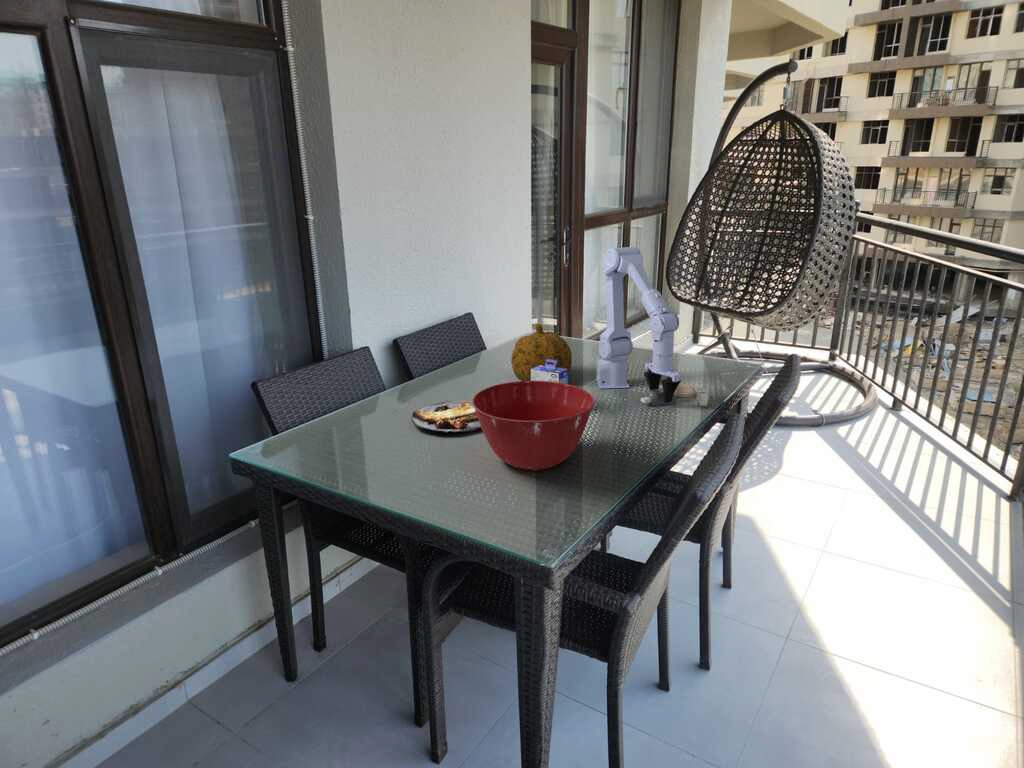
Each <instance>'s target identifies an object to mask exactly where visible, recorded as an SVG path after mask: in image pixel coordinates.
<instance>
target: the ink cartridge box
mask: <svg viewBox="0 0 1024 768" xmlns="http://www.w3.org/2000/svg"><path fill="white" fill-rule="evenodd" d="M548 362H553V363H554V365H550V364H547V363H548ZM556 364H557V360H551V359H547V360H546V363H545V366H542V365H540V366H537V367H534V368H532V369H531V381H551V382H559V383H564V384H569V380H568V379H569V372H568V369H563V368H556Z"/></svg>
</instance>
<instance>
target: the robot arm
mask: <svg viewBox="0 0 1024 768" xmlns="http://www.w3.org/2000/svg"><path fill="white" fill-rule="evenodd" d="M643 263H644V256H643V254H642V252H641V250H640V248H639V247H638V246H636V245H632V246H625V247H617V248H616V247H615V248H614V247H610V248H609V249H608V250H607V251H606V252H605V254H604V255H603V268H604V269H603V271H604V282H605V283H604V286H605V308H606V311H605V313H606V329H605V330H604V331H603V332H602V333H601V334H600V335H599V343H598V344H599V345H598V353H599V355H600V356H601V358H598V359H597V360H596V381H595V382H596V384H597V386H598V387H599V389H600V390H601V389H602V390H603V389H604V390H605V389H628V388H630V384H629V383H628V382H627V374H628V373H627V372H628V371H627V369H628V368H627V366H628V359H629V358H630V355H631V354H632V353H633V350H634V349H633V348H634V344H633V341H632V337H631V336H632V335H631V332H630V331H629V330H627V329H626V328H625V311H624V310H625V309H624V308H625V307H624V284H623V283H624V282H623V278H624V277H625V276H626V275H629V276H630V278H631V280H632V281H633V282H634V284H635V285H636V287H637V289H638V290H639V292H640V293H641V295H642V296H641V298H640V301H641V304H642V306H643V307H644V309H645V311H646V314H647V315H648V317H649V318H650V321H649V323H648V324H649V328H650V331H651V338H652V339H653V340H652V341H653V343H652V362H645V367H644V369H645V370H646V371H645V372H643V376H644V377H645V380H646V383H647V385H648V389H649V390H654V389H659V385H660V384H661V385H662V386H663V392H664V402H665V403H668V402H672V399H673V396H674V393H675V390H676V388H677V387H678V385H679V384H681V382H682V381H681V374H680V373H678V372H677V371H676V367H675V366H673V361H674V345H675V344H674V343H675V341H674V340H675V332H676V331H677V330H678V328H679V327H680V319H679V316H678V314H677V313H676V312H675V311H673V310H672V309H671V308H668V306H667V303H666V302H665V300H664V298H663V295H662V294H661V292H660V291H659V290H657V289H654V288H653V286H652V283H651V281H650V278H649V277H648V274H647V272H646V269H645V267H644V265H643ZM662 377H664V379H661V378H662ZM649 390H648V391H649Z"/></svg>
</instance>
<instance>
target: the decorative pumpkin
mask: <svg viewBox="0 0 1024 768" xmlns="http://www.w3.org/2000/svg"><path fill="white" fill-rule="evenodd" d="M534 328H535V332H532V333H531V334H529V335H525V336H522V337H520V338H518V339H517V341H516V342H515V344H514V348H513V350H512V354H511V360H510V361H511V366H512V371H513V373H514V375H515V376H516V378H517V379H518V380H519V381H531V369H532V368H534V367H537V366H540V365H542V366H545V363H546V360H547V359H551V360H557V364H556V368H563V369H568V373H570V371H571V368H572V364H573V362H572V359H573V355H572V354H573V353H572V350H571V348H570V346H569V345H568V343H567V342H566V341H567V340H564V338H562V337H561V336H560V335H559V334H558V333H556V332H553V331H547V332H544V330H543V325H542V324H541V323H536V324H534ZM547 364H550V365H554V363H553V362H548V363H547Z"/></svg>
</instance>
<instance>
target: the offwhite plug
mask: <svg viewBox="0 0 1024 768" xmlns="http://www.w3.org/2000/svg"><path fill="white" fill-rule="evenodd" d="M696 394H697V397H696V400H697V401H696V400H695V401H696V405H697V406H698V407H700V406H701V408H705V407H708V406H709V405H708V404H709V390H708V388H707V387H698V388H696Z"/></svg>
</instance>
